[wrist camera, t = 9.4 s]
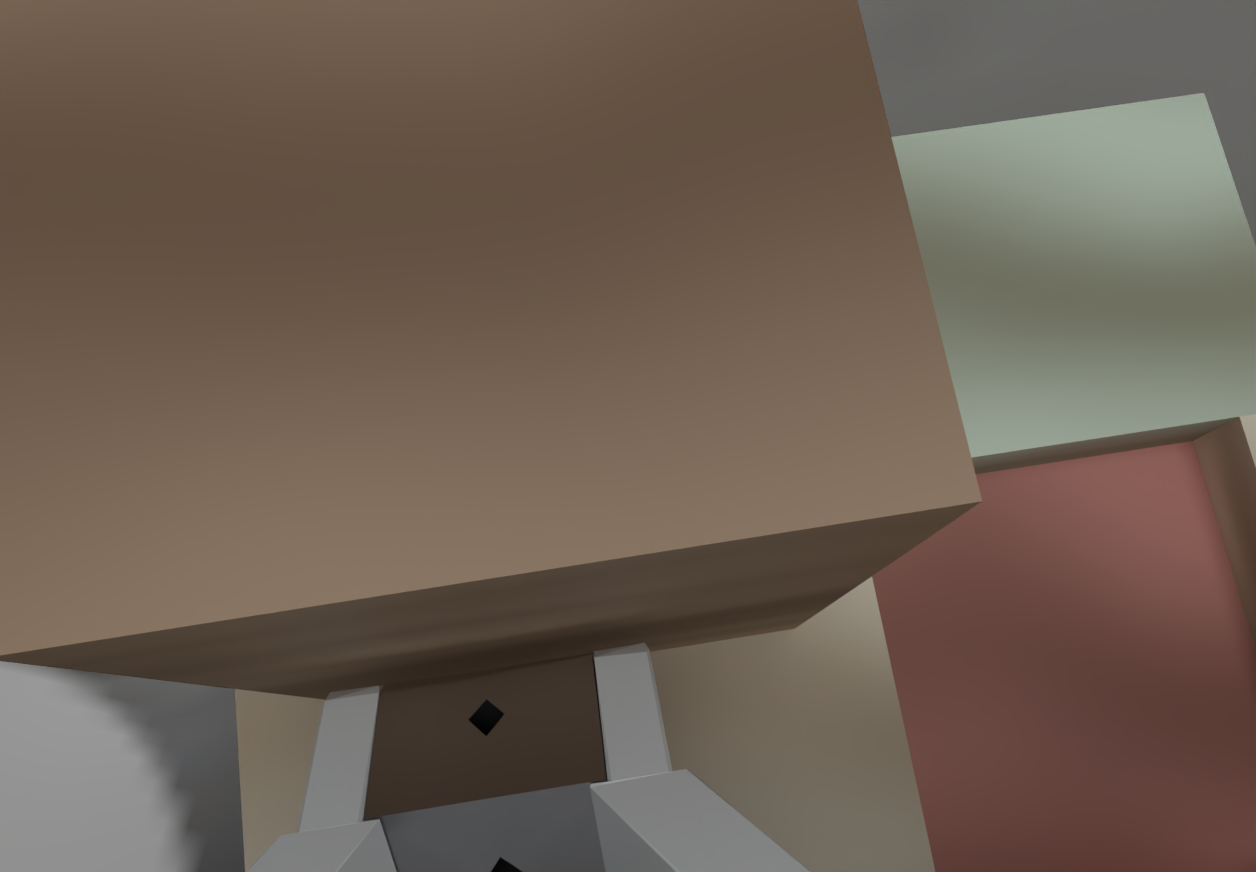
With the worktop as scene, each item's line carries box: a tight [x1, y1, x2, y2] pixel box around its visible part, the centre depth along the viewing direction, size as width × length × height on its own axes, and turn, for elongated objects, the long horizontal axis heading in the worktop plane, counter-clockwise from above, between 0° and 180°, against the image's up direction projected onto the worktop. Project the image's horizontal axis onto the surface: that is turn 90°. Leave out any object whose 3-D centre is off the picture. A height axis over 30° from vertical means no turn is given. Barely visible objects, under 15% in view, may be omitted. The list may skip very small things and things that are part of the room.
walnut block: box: [0, 0, 982, 700], centre depth 11 cm, size 5×6×8 cm
